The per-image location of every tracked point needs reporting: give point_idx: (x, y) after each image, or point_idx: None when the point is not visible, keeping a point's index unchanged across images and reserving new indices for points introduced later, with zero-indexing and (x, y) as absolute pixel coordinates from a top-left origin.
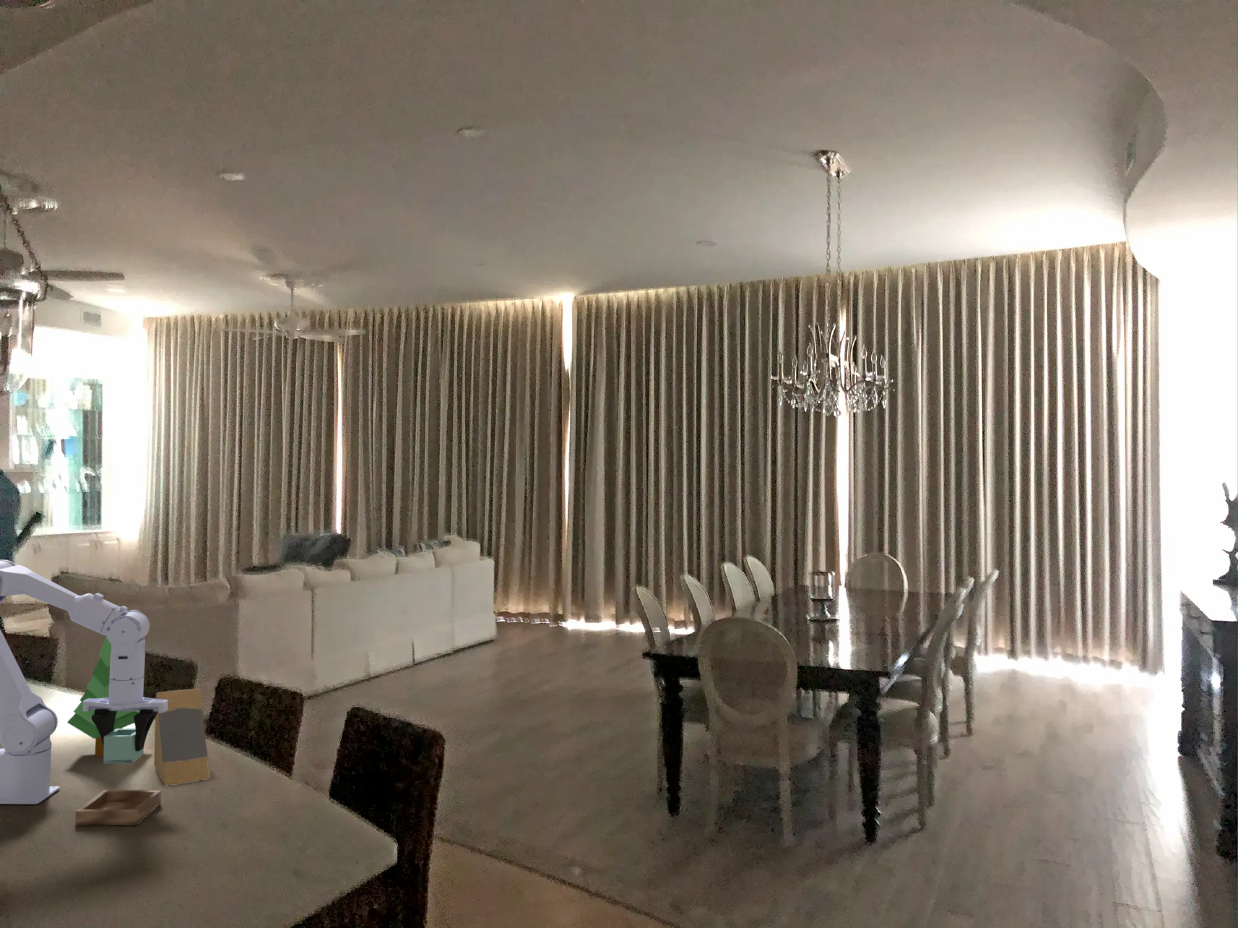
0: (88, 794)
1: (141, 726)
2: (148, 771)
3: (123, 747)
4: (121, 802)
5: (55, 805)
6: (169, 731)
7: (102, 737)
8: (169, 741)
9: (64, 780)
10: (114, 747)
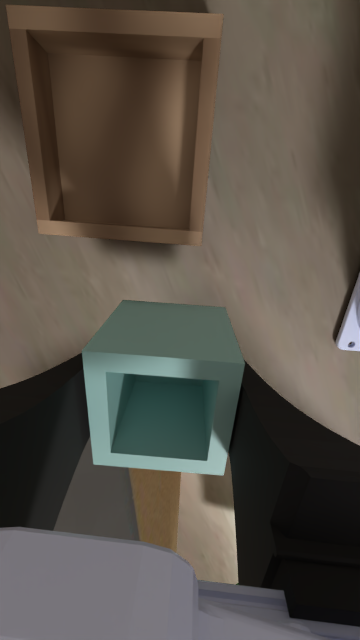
0: (258, 309)
1: (2, 395)
2: None
3: (142, 325)
4: (149, 224)
5: (320, 236)
6: (108, 516)
7: (258, 381)
8: (106, 477)
9: (335, 396)
10: (184, 330)
